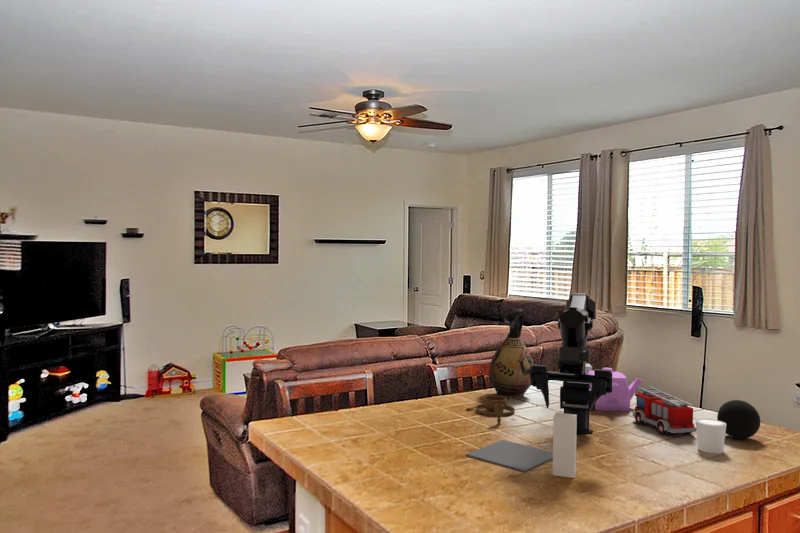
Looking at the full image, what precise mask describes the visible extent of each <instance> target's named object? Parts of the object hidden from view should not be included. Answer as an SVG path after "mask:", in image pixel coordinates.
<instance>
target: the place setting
mask: <svg viewBox="0 0 800 533" xmlns="http://www.w3.org/2000/svg"><path fill="white" fill-rule="evenodd" d="M507 399H508V398H505V397H503V396H497V395H486V396H484V397H483V403H481V404H477V405H476V406H473V407H466V411H473V410H474V409H475V411H476V412H477V413H478V414H480V415H482V416H483V415H484V416H488V417H497V419H496V422H497V423H496V425H497V426H501V425H502V423H501V421H502V419H501V417H509V416H512V415H514V414H515V411H516V408H515V407H514V406H511V405H508V403H507V401H508V400H507ZM484 409H485V410H487V411H485V410H484ZM504 410H505V412H504ZM511 420H513V421H515V418H514V419H513V418H511Z"/></svg>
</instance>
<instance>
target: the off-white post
mask: <svg viewBox="0 0 800 533" xmlns="http://www.w3.org/2000/svg"><path fill="white" fill-rule="evenodd" d="M552 426H553V427H552V428H553V433H552V434H553V436H552V452H553V459H552V476H557V477H565V478H572V479H573V478H575V476H576V472H577V434H576V433H577V415H575V414H565V413H564V412H555V414H554V416H553V423H552Z"/></svg>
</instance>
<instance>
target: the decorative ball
mask: <svg viewBox="0 0 800 533" xmlns="http://www.w3.org/2000/svg"><path fill="white" fill-rule="evenodd" d="M716 416H717V417H716V420H718V421H722V422H725V423H726V432H725V435H728V436H729V437H731V438H734V439H739V440H743V439H744V440H745V439H749V438H751V437H753V436H755V435H756V434H757V433H758V431H759V430H760V426H761V417H760V414H759V412H758V410H757V409H756V407H754V406H753V405H752V404H751V403H749V402H748V401H747V402H746V401H745V400H740V399H734V400H729V401H727V402H724V403H723V404H722V405H721V406H720V407H719V409H718V411H717V415H716Z"/></svg>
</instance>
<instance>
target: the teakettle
mask: <svg viewBox="0 0 800 533" xmlns="http://www.w3.org/2000/svg"><path fill="white" fill-rule="evenodd" d="M601 370H610V371H611V372H612V392H611V393H606V395H601V396H600V398H599V399H598V400H597V401H596V403H595V410H594V411H603V410H605V411H607V412H608V411H609V412H629V410H630V407H631V400H632V399H633V397H634V396H635V393H637V391H638V390H639V389H638V388H637V387H641V385H642V383H643V382H644V380H643V379H641V378H637V377H636V379H635V380H633V381H632V383H631V382H630V384H629V382H628V381H629V380H628V378H627V376H626V375H625V374H624V373H622V372H620V371H613V370H614V369H613V368H611V367H602V369H601ZM594 371H595V370H592V371H589V373H588V375H594ZM591 388H592V384H590V389H591ZM605 411H604V412H605Z"/></svg>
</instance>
